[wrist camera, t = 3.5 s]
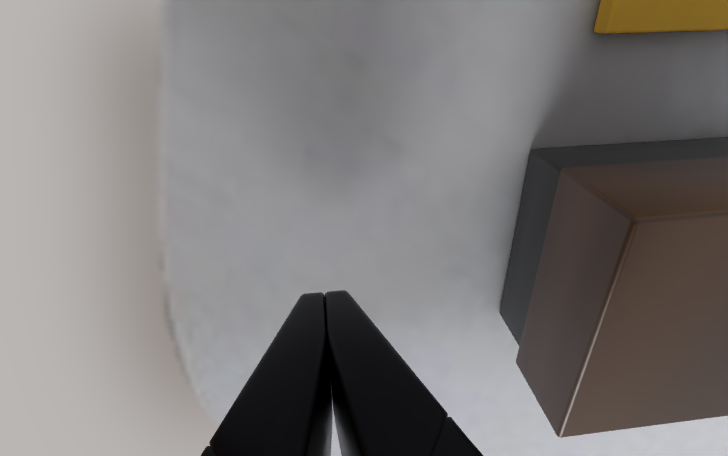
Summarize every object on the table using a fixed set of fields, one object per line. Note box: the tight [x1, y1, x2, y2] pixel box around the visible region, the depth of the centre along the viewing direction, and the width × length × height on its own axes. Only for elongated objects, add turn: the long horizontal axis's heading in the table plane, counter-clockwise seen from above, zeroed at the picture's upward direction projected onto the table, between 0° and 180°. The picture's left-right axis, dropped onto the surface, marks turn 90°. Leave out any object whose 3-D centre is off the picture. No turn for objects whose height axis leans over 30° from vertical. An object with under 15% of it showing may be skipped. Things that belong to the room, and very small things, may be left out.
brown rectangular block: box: [500, 137, 728, 437], centre depth 9 cm, size 7×5×4 cm
